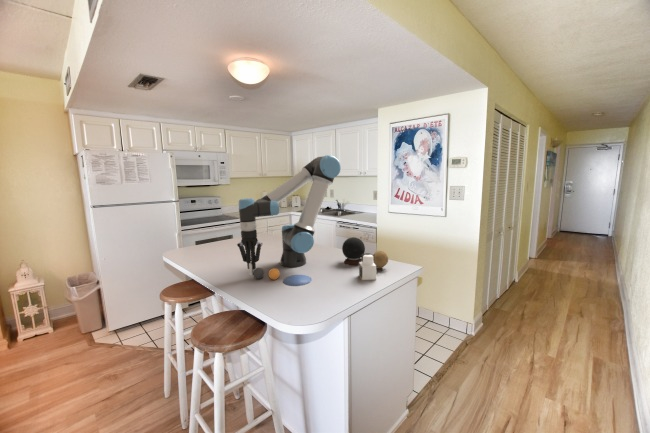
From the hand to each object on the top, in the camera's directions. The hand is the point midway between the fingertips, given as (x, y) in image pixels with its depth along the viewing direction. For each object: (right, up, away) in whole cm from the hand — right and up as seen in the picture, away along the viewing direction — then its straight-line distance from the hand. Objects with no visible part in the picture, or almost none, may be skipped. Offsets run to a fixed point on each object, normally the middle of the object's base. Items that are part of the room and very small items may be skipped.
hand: (252, 274), depth 146 cm
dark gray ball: (+4, +1, -1) cm, 4 cm away
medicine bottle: (+58, -1, -3) cm, 58 cm away
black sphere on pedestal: (+54, +3, +21) cm, 58 cm away
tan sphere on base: (+67, +1, +9) cm, 67 cm away
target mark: (+23, -2, -5) cm, 24 cm away
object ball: (+12, +1, -3) cm, 12 cm away
